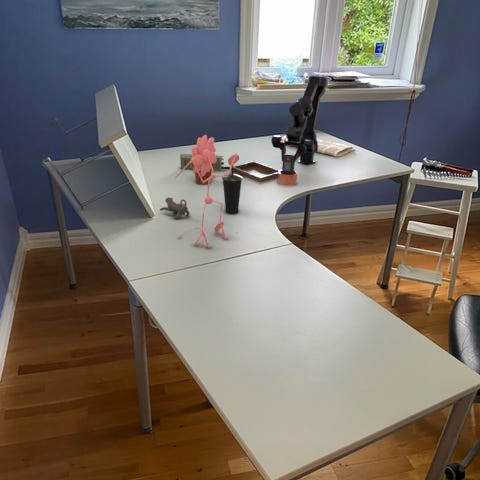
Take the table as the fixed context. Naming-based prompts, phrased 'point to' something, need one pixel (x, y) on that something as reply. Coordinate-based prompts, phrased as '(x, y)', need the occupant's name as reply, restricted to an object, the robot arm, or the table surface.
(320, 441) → the table surface
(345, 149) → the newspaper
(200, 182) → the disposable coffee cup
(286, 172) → the dark grey block
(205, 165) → the figurine
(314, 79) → the robot arm
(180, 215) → the dog figurine
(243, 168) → the tray
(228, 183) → the drinking cup
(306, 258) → the table surface
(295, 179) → the holder cup
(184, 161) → the handheld radio
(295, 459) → the table surface
